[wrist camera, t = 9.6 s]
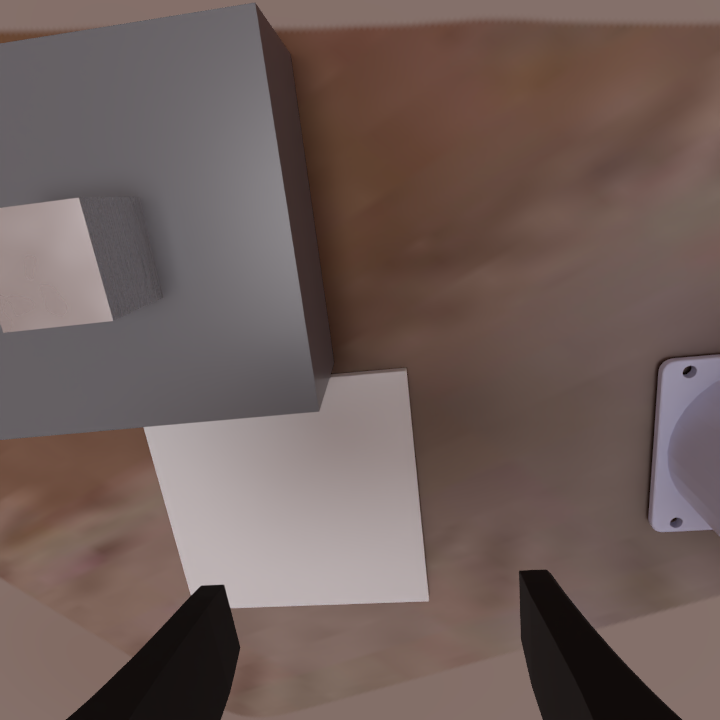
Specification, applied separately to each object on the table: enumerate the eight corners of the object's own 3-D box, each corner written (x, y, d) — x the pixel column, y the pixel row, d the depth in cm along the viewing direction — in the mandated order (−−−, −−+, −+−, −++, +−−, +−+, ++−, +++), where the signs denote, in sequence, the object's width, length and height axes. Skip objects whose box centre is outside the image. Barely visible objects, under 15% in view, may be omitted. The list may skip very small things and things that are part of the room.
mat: (406, 367, 21) (406, 370, 21) (428, 594, 25) (429, 601, 24) (138, 390, 22) (134, 394, 22) (197, 603, 26) (194, 609, 26)
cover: (290, 54, 18) (217, -52, 10) (334, 363, 21) (305, 457, 14) (-15, 99, 19) (-290, 35, 11) (77, 387, 22) (-84, 488, 15)
